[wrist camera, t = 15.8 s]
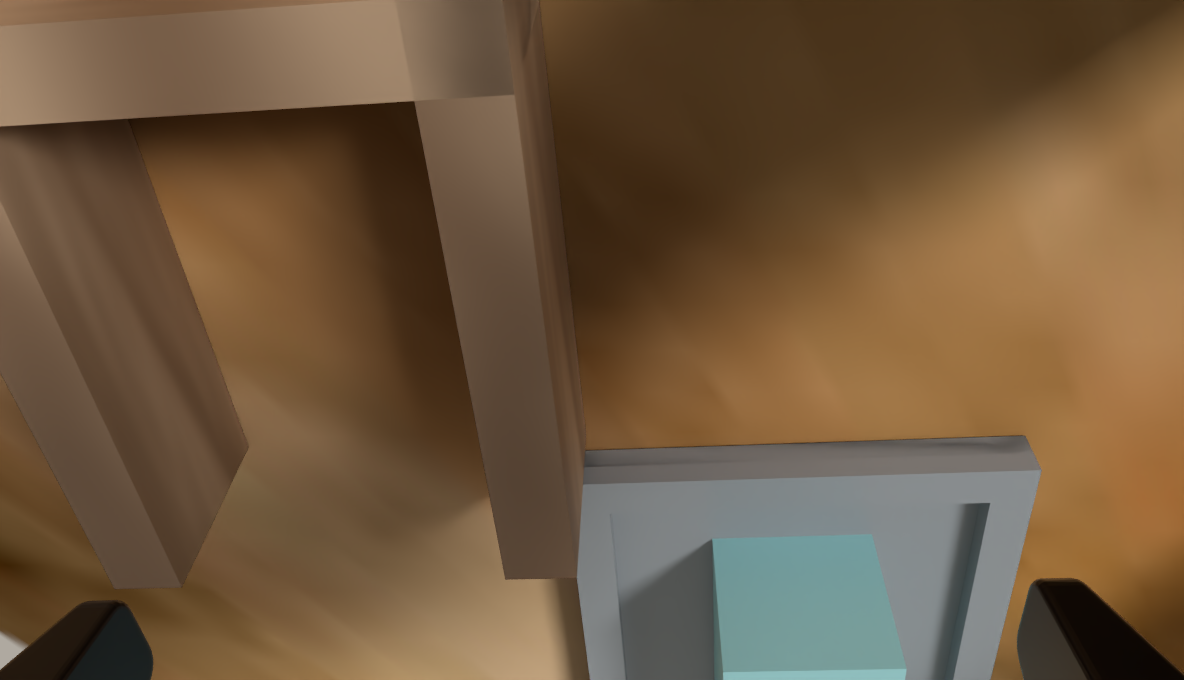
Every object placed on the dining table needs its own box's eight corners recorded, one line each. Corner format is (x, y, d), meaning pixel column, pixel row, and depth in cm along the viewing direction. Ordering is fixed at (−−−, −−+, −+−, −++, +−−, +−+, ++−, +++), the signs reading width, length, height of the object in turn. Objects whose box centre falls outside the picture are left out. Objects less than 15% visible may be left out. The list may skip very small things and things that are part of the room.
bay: (530, -86, 17) (501, -10, 14) (585, 434, 24) (576, 577, 21) (-13, -45, 18) (-177, 37, 15) (190, 449, 25) (114, 589, 22)
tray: (1025, 435, 24) (1041, 469, 23) (954, 749, 31) (964, 785, 30) (567, 451, 25) (564, 485, 24) (605, 753, 32) (603, 788, 31)
